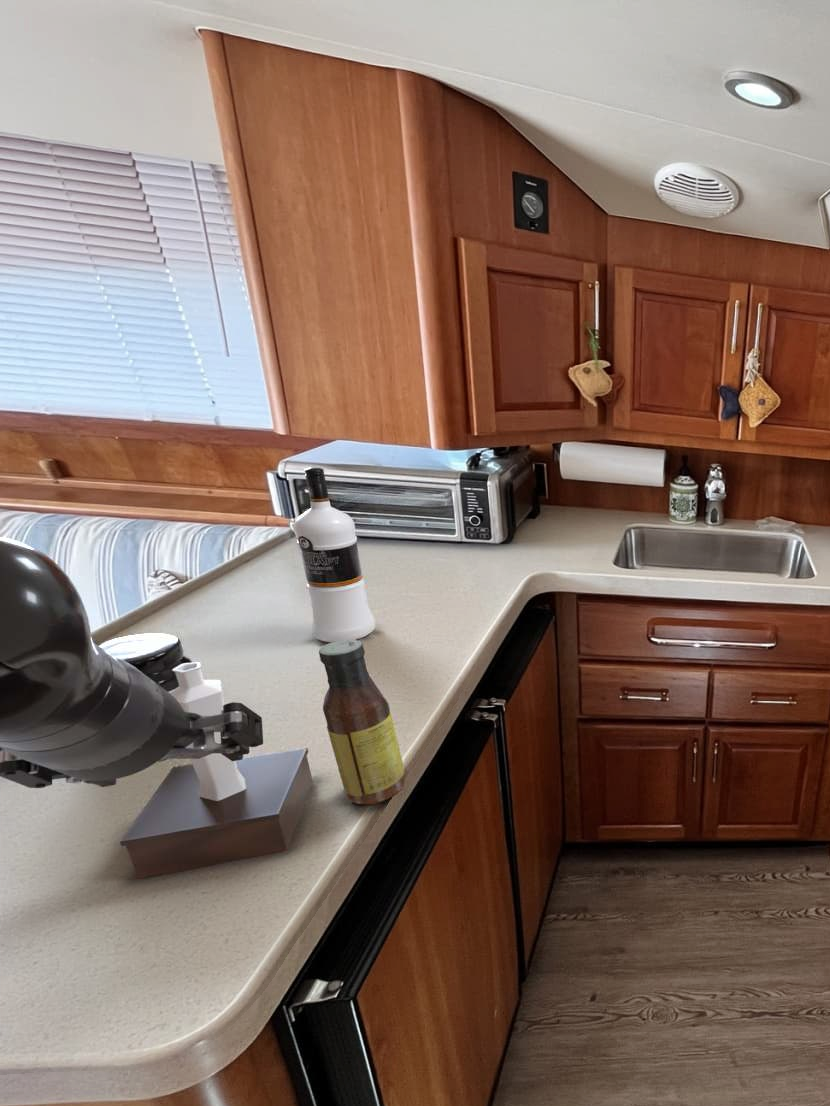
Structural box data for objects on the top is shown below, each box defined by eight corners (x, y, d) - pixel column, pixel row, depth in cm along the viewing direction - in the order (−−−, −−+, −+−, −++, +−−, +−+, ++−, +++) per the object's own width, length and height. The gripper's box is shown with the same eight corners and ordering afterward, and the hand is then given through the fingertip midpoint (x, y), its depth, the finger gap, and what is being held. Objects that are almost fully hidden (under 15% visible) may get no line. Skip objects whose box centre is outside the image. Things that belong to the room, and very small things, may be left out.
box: (134, 881, 63) (119, 842, 61) (185, 802, 73) (173, 766, 71) (289, 851, 68) (278, 813, 66) (315, 781, 78) (307, 747, 76)
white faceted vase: (188, 807, 66) (145, 681, 60) (204, 782, 69) (166, 660, 64) (244, 798, 68) (207, 675, 62) (257, 774, 71) (224, 655, 66)
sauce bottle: (414, 774, 81) (390, 633, 74) (394, 806, 75) (365, 658, 68) (357, 776, 80) (327, 633, 72) (332, 809, 74) (297, 658, 67)
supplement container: (123, 714, 88) (94, 635, 83) (220, 702, 92) (198, 627, 87) (81, 757, 79) (47, 672, 74) (191, 743, 83) (165, 661, 79)
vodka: (387, 631, 117) (360, 468, 106) (334, 649, 109) (298, 475, 98) (356, 619, 121) (326, 460, 110) (302, 635, 113) (264, 466, 102)
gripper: (221, 648, 49) (273, 705, 62) (-63, 684, 42) (64, 740, 55) (225, 742, 47) (279, 781, 60) (-74, 797, 39) (61, 828, 53)
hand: (176, 761), depth 57 cm, fingers open, 8 cm apart
